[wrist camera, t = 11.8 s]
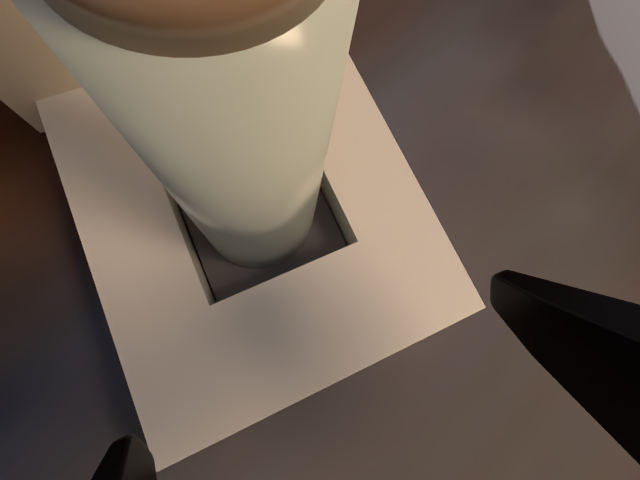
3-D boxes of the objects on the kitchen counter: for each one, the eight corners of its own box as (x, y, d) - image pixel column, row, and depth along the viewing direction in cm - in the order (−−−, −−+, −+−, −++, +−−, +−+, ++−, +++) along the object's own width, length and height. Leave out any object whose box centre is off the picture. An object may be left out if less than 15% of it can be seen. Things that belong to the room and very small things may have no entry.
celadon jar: (331, 199, 18) (456, -200, 5) (277, 289, 17) (235, 97, 3) (242, 149, 18) (117, -364, 5) (183, 234, 17) (-206, -147, 4)
